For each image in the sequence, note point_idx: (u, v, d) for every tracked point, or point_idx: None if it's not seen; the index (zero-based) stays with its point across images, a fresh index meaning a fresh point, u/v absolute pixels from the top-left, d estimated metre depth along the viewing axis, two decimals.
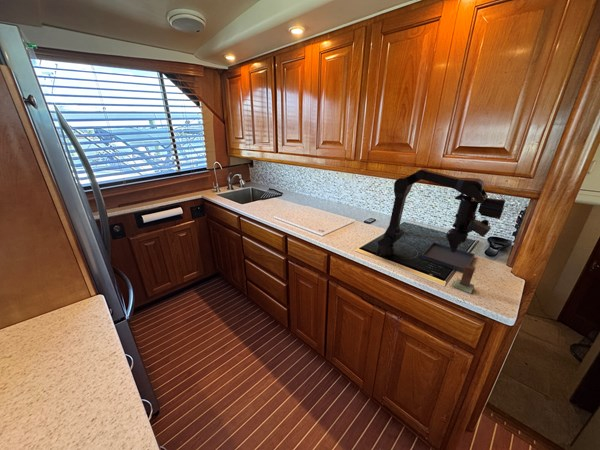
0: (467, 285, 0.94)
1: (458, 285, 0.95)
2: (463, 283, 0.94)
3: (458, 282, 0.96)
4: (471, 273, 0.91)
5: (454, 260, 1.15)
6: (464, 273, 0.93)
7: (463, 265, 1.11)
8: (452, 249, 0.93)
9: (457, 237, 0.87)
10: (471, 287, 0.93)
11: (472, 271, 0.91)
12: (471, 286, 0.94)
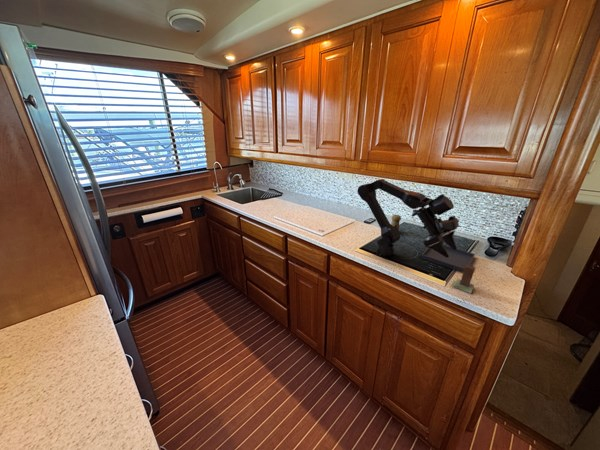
0: (467, 285, 0.94)
1: (458, 285, 0.95)
2: (463, 283, 0.94)
3: (458, 282, 0.96)
4: (471, 273, 0.91)
5: (454, 260, 1.15)
6: (464, 273, 0.93)
7: (463, 265, 1.11)
8: (444, 255, 0.93)
9: (431, 241, 0.91)
10: (471, 287, 0.93)
11: (472, 271, 0.91)
12: (471, 286, 0.94)
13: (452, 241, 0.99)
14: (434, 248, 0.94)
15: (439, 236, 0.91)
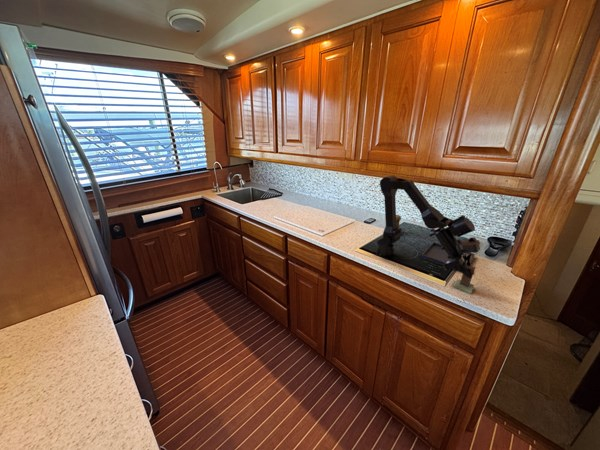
0: (467, 285, 0.94)
1: (458, 285, 0.95)
2: (463, 283, 0.94)
3: (458, 282, 0.96)
4: (471, 273, 0.91)
5: None
6: None
7: None
8: (467, 275, 0.92)
9: (452, 264, 0.88)
10: (471, 287, 0.93)
11: (472, 271, 0.91)
12: (471, 286, 0.94)
13: None
14: (457, 268, 0.93)
15: (460, 259, 0.88)
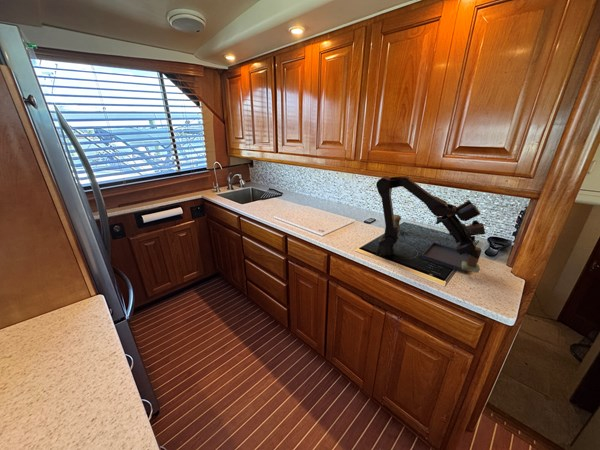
0: (474, 266, 0.99)
1: (466, 267, 1.00)
2: (471, 264, 1.00)
3: (465, 264, 1.01)
4: (478, 254, 0.97)
5: (454, 260, 1.15)
6: None
7: None
8: (475, 256, 0.98)
9: (467, 248, 0.91)
10: (478, 267, 0.99)
11: (479, 252, 0.97)
12: (477, 266, 1.00)
13: None
14: None
15: (473, 243, 0.92)
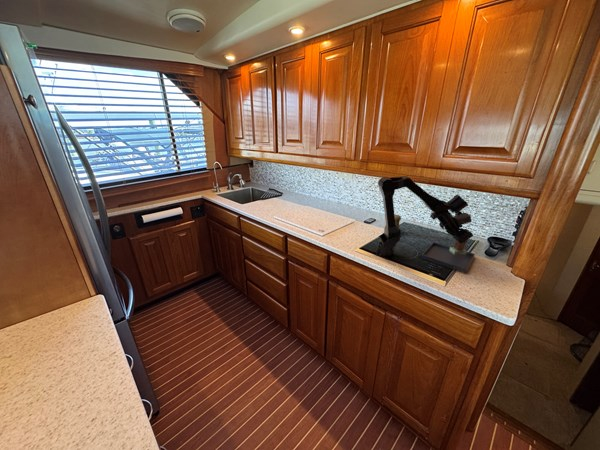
0: (462, 249, 1.15)
1: (457, 252, 1.15)
2: (459, 249, 1.15)
3: (455, 249, 1.16)
4: None
5: (454, 260, 1.15)
6: None
7: (463, 265, 1.11)
8: (464, 241, 1.13)
9: (467, 237, 1.04)
10: (464, 249, 1.16)
11: None
12: None
13: None
14: None
15: (469, 231, 1.05)
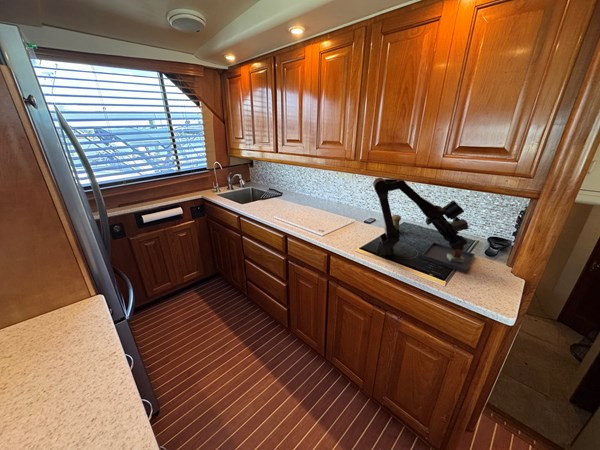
0: (459, 256, 1.12)
1: (453, 259, 1.13)
2: (456, 256, 1.12)
3: (452, 256, 1.14)
4: (463, 246, 1.10)
5: None
6: None
7: (463, 265, 1.11)
8: (460, 249, 1.10)
9: (461, 244, 1.02)
10: (462, 257, 1.13)
11: None
12: None
13: None
14: None
15: None
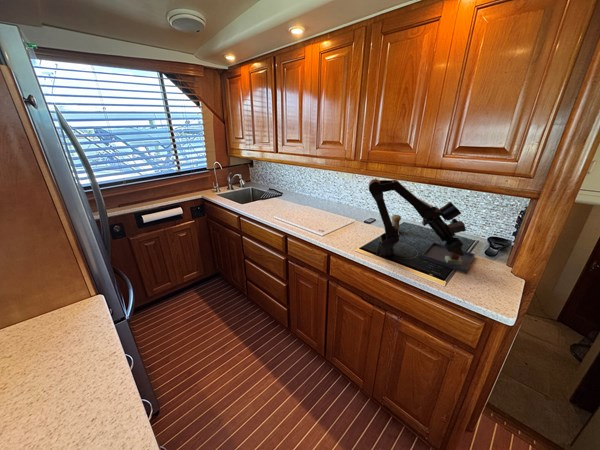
0: (457, 259, 1.11)
1: (451, 261, 1.11)
2: (454, 258, 1.11)
3: (449, 258, 1.12)
4: None
5: None
6: None
7: (463, 265, 1.11)
8: (460, 254, 1.06)
9: (456, 246, 1.01)
10: (460, 259, 1.11)
11: (461, 246, 1.08)
12: (459, 259, 1.12)
13: None
14: (453, 251, 1.05)
15: None
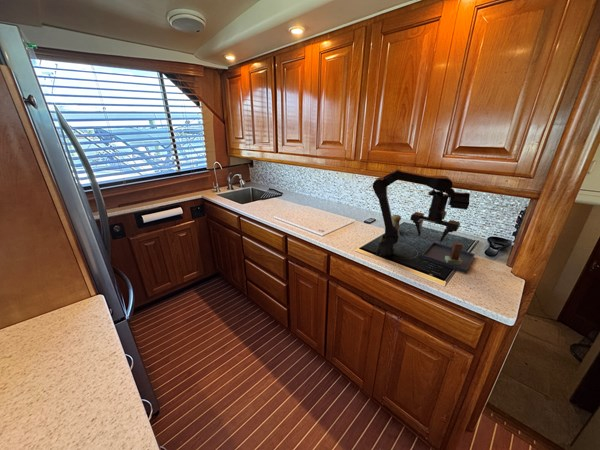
0: (457, 259, 1.11)
1: (451, 261, 1.11)
2: (454, 258, 1.11)
3: (449, 258, 1.12)
4: (460, 248, 1.09)
5: None
6: (455, 250, 1.09)
7: (463, 265, 1.11)
8: None
9: (458, 226, 0.99)
10: (460, 259, 1.11)
11: (461, 246, 1.08)
12: (459, 259, 1.12)
13: (421, 227, 1.10)
14: None
15: None
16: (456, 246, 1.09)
